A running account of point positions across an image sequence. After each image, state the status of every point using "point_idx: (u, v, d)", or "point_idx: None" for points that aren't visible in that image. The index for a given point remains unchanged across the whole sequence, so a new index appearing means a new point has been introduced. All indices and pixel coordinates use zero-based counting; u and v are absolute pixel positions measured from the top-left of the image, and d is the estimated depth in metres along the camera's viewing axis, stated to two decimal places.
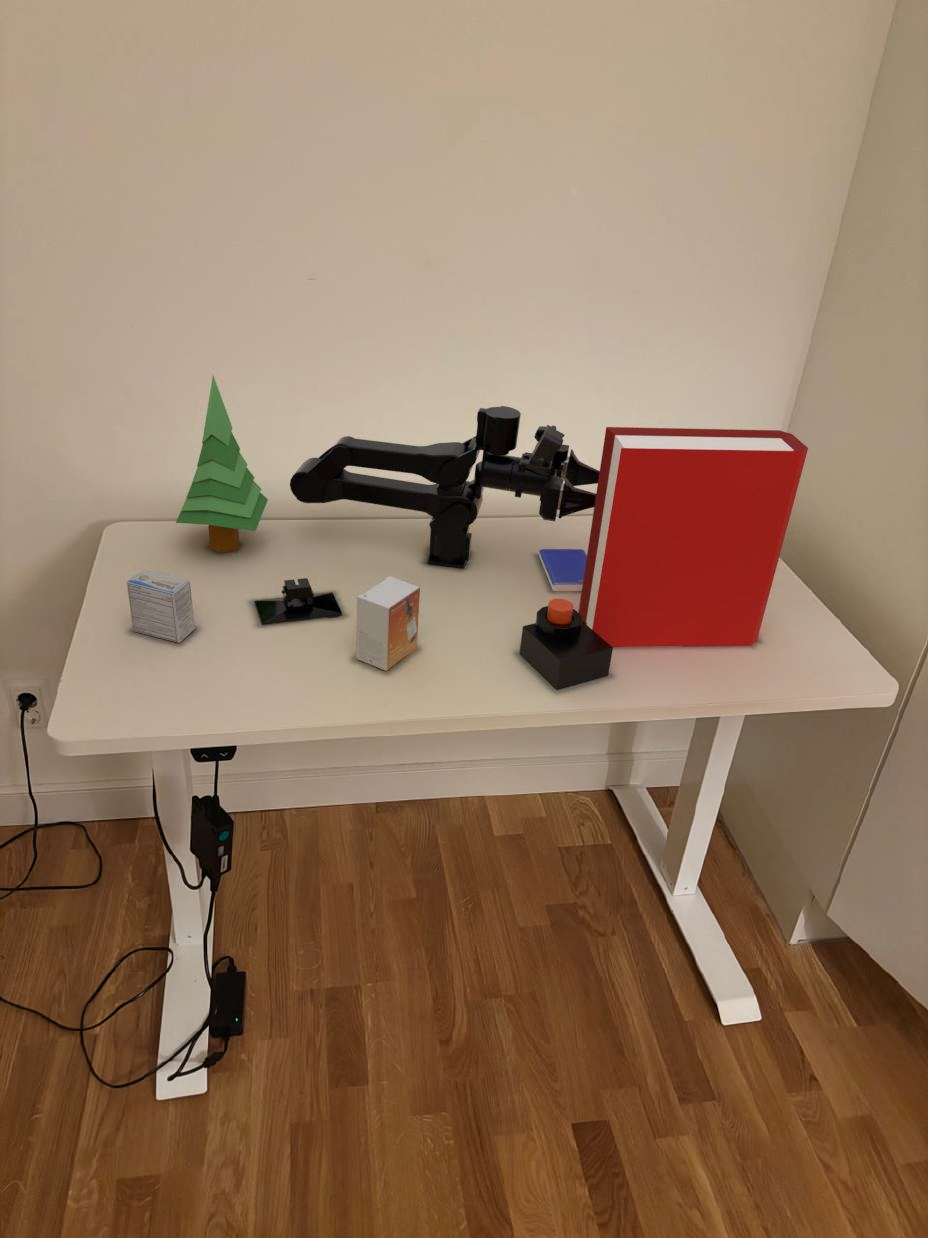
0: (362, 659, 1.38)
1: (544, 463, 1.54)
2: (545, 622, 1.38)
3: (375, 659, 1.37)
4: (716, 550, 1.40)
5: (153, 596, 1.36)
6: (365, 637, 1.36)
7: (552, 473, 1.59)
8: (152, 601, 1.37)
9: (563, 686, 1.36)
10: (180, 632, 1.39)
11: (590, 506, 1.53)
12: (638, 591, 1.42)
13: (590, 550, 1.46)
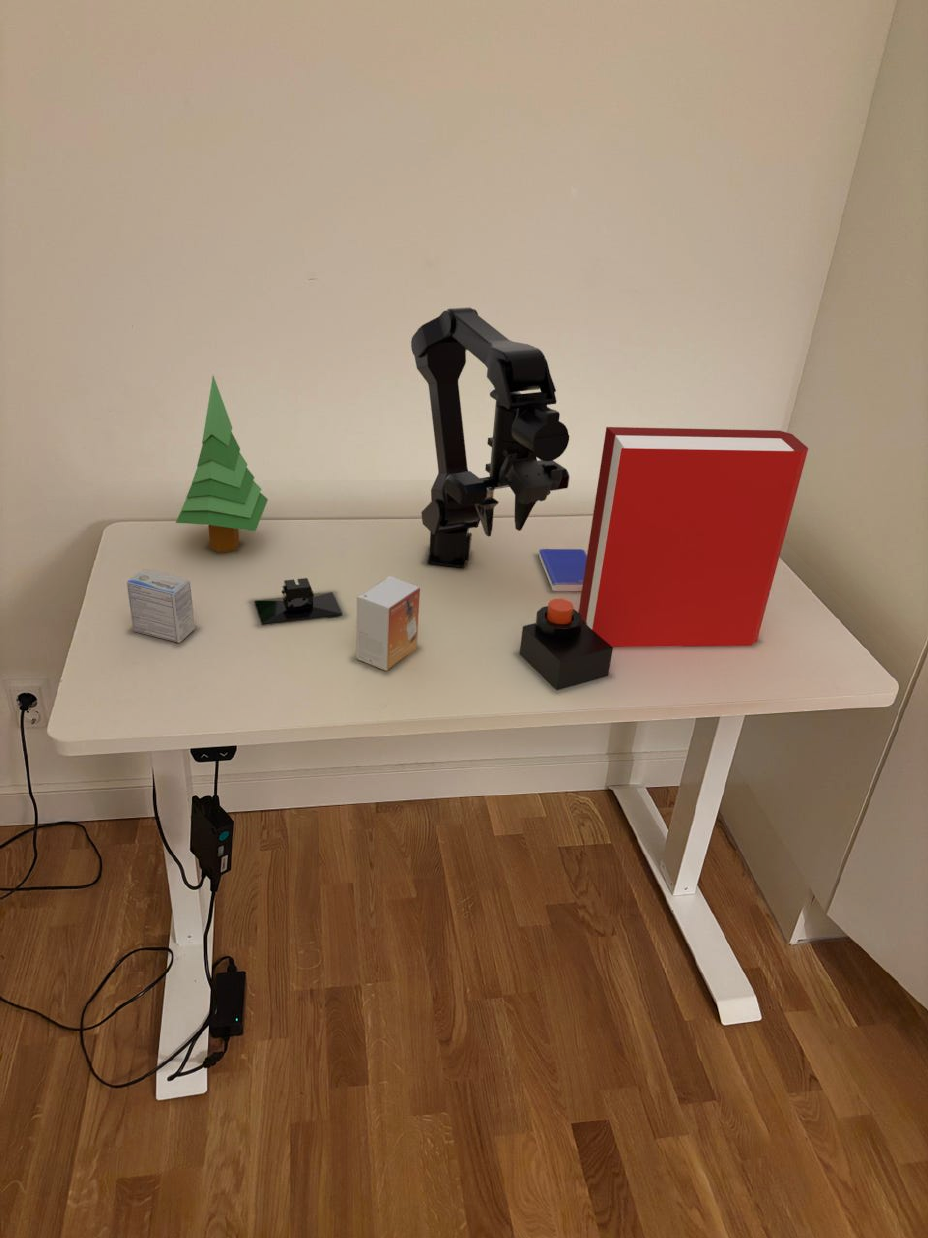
0: (362, 659, 1.38)
1: (507, 479, 1.39)
2: (545, 622, 1.38)
3: (375, 659, 1.37)
4: (716, 550, 1.40)
5: (153, 596, 1.37)
6: (365, 637, 1.36)
7: None
8: (152, 601, 1.37)
9: (563, 686, 1.36)
10: (180, 632, 1.39)
11: (480, 519, 1.46)
12: (638, 591, 1.42)
13: (590, 550, 1.46)
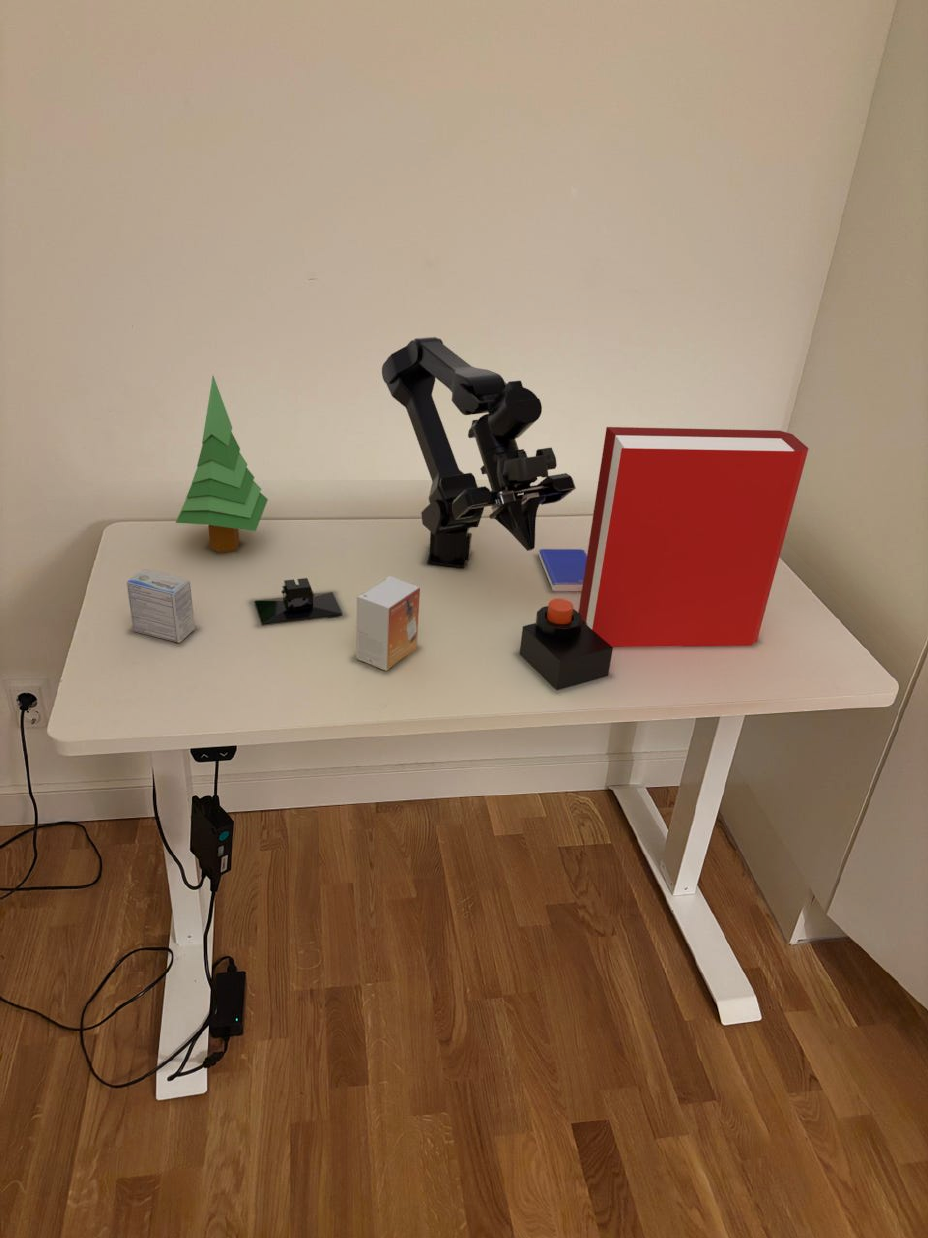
0: (362, 659, 1.38)
1: (505, 475, 1.40)
2: (545, 622, 1.38)
3: (375, 659, 1.37)
4: (716, 550, 1.40)
5: (153, 596, 1.37)
6: (365, 637, 1.36)
7: (525, 488, 1.45)
8: (152, 601, 1.37)
9: (563, 686, 1.36)
10: (180, 632, 1.39)
11: (517, 538, 1.44)
12: (638, 591, 1.42)
13: (590, 550, 1.46)
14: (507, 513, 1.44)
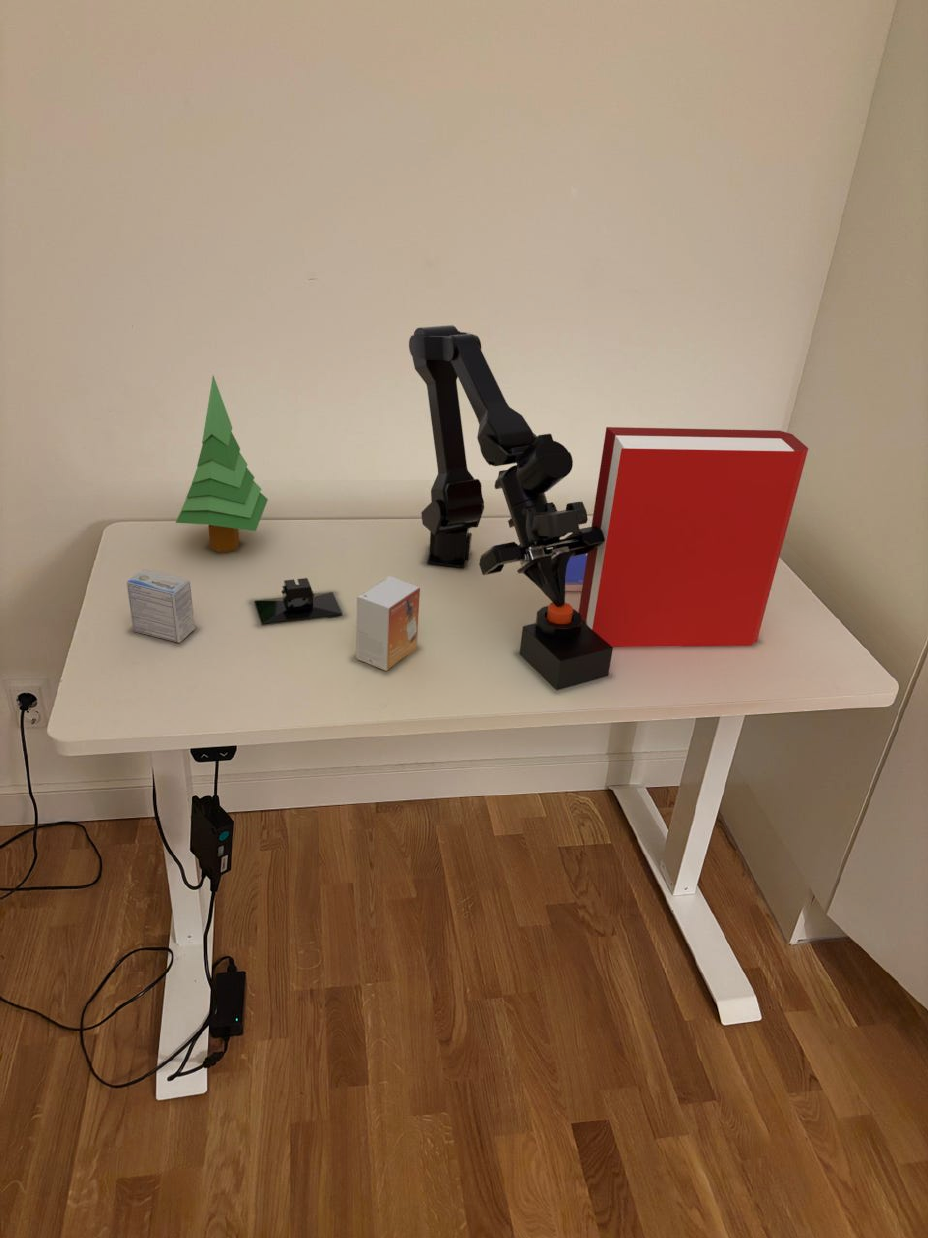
0: (362, 659, 1.38)
1: (535, 531, 1.36)
2: (545, 622, 1.38)
3: (375, 659, 1.37)
4: (716, 550, 1.40)
5: (153, 596, 1.36)
6: (365, 637, 1.36)
7: (554, 542, 1.41)
8: (152, 601, 1.37)
9: (563, 686, 1.36)
10: (180, 632, 1.39)
11: (546, 594, 1.40)
12: (638, 591, 1.42)
13: None
14: (536, 568, 1.40)
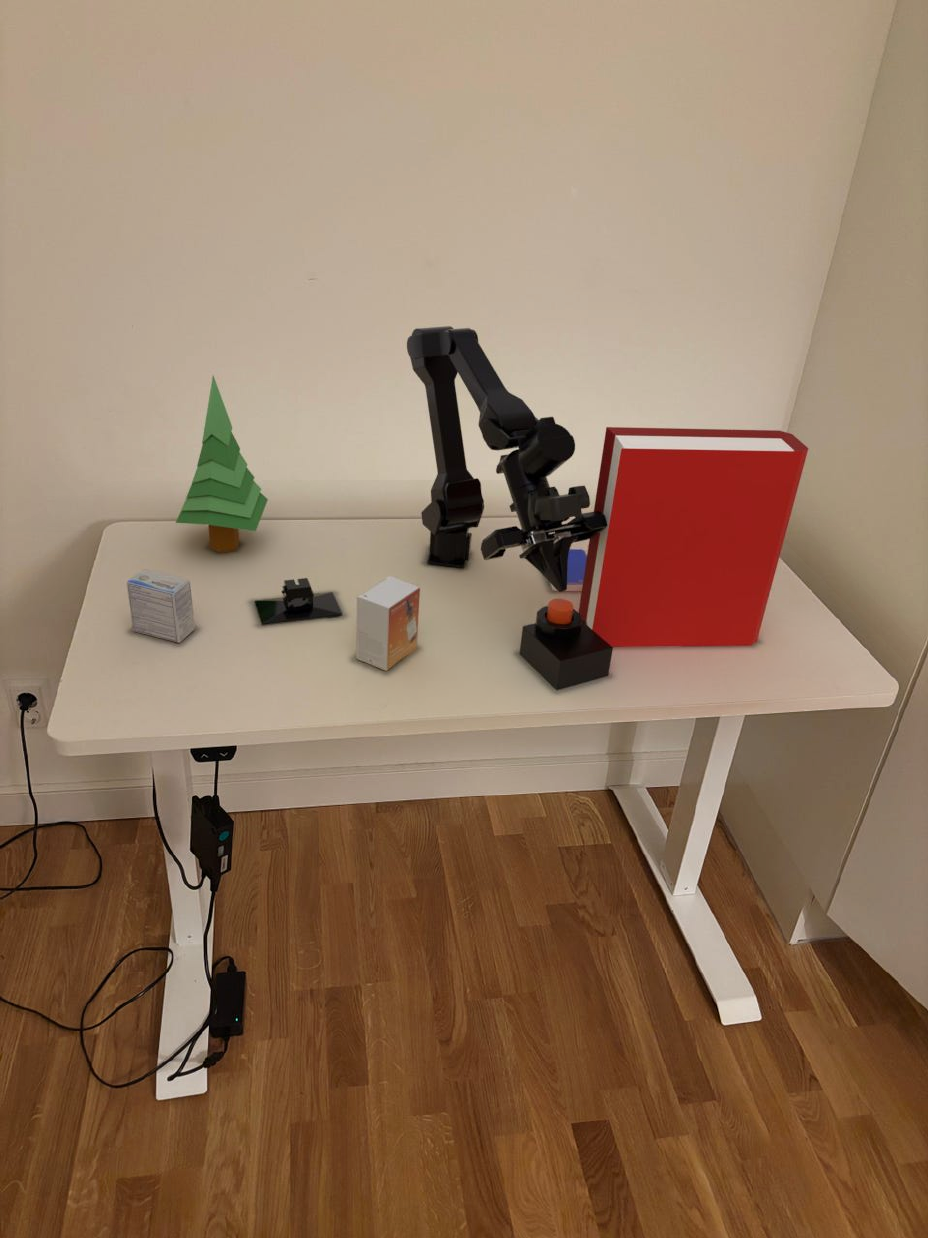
0: (362, 659, 1.38)
1: (537, 515, 1.35)
2: (545, 622, 1.38)
3: (375, 659, 1.37)
4: (716, 550, 1.40)
5: (153, 596, 1.36)
6: (365, 637, 1.36)
7: (556, 527, 1.40)
8: (152, 601, 1.37)
9: (563, 686, 1.36)
10: (180, 632, 1.39)
11: (548, 579, 1.38)
12: (638, 591, 1.42)
13: (590, 550, 1.46)
14: (538, 553, 1.39)
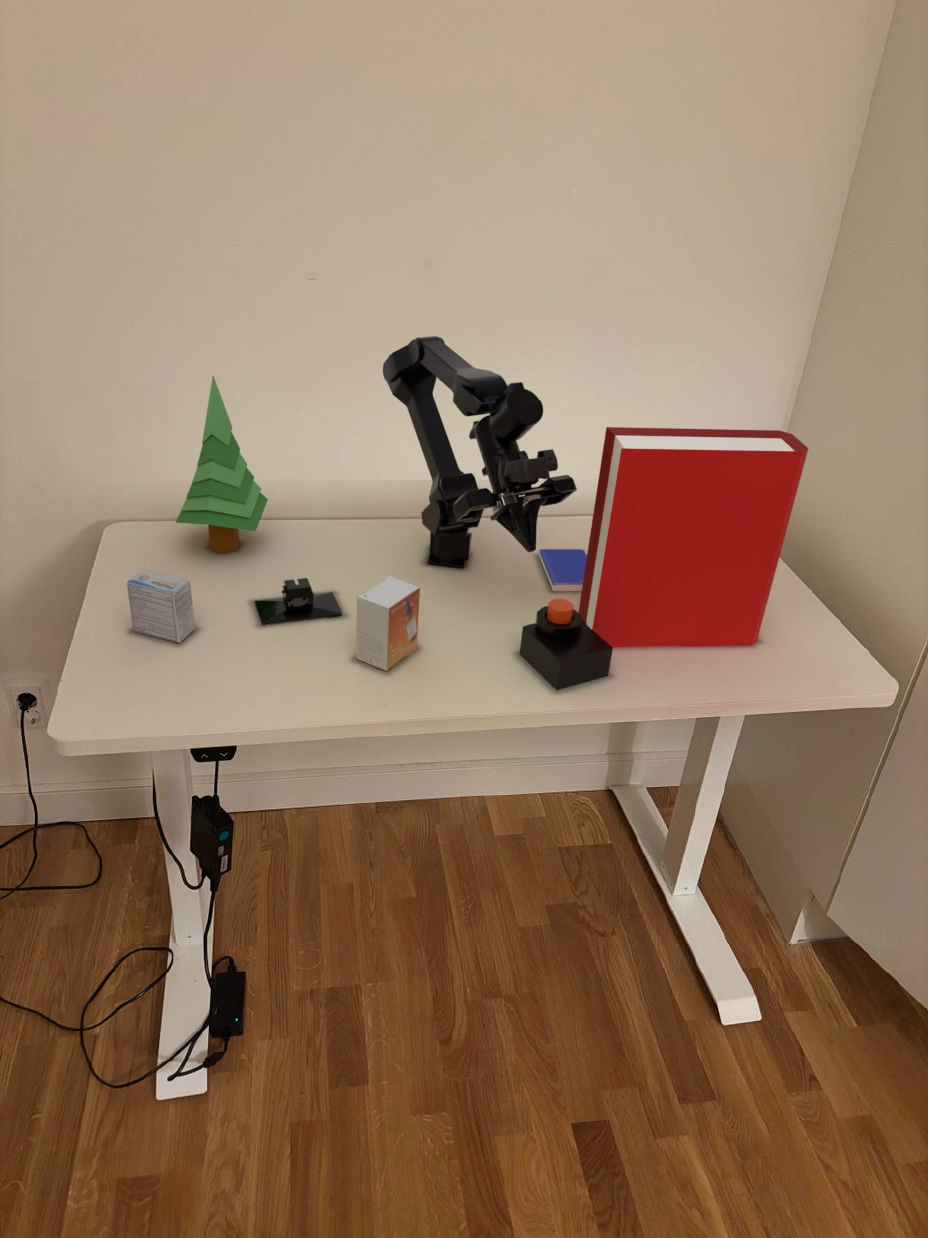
0: (362, 659, 1.38)
1: (507, 477, 1.40)
2: (545, 622, 1.38)
3: (375, 659, 1.37)
4: (716, 550, 1.40)
5: (153, 596, 1.36)
6: (365, 637, 1.36)
7: (526, 490, 1.45)
8: (152, 601, 1.37)
9: (563, 686, 1.36)
10: (180, 632, 1.39)
11: (518, 540, 1.44)
12: (638, 591, 1.42)
13: (590, 550, 1.46)
14: (508, 515, 1.44)
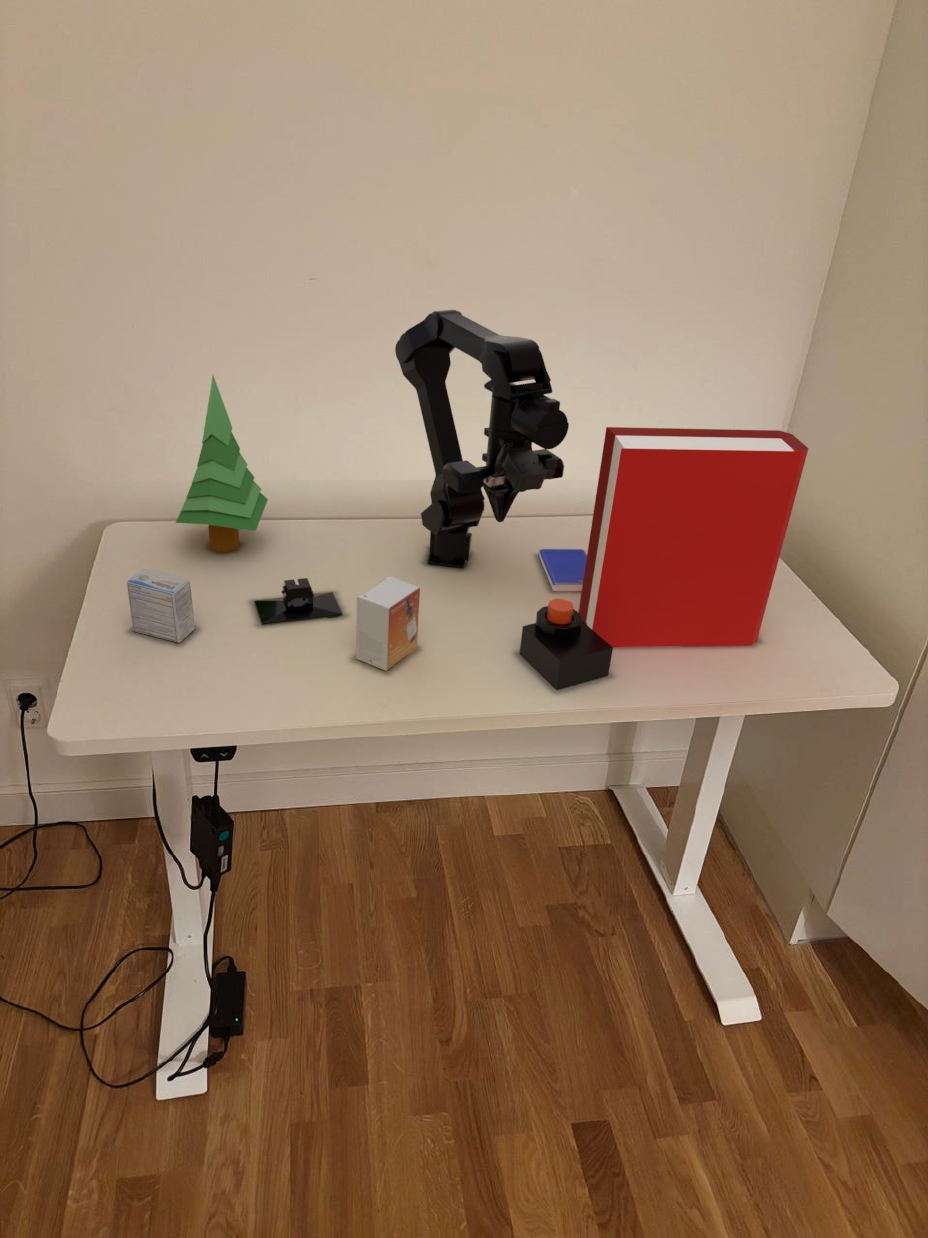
0: (362, 659, 1.38)
1: (503, 468, 1.43)
2: (545, 622, 1.38)
3: (375, 659, 1.37)
4: (716, 550, 1.40)
5: (153, 596, 1.36)
6: (365, 637, 1.36)
7: None
8: (152, 601, 1.37)
9: (563, 686, 1.36)
10: (180, 632, 1.39)
11: (491, 506, 1.51)
12: (638, 591, 1.42)
13: (590, 550, 1.46)
14: None
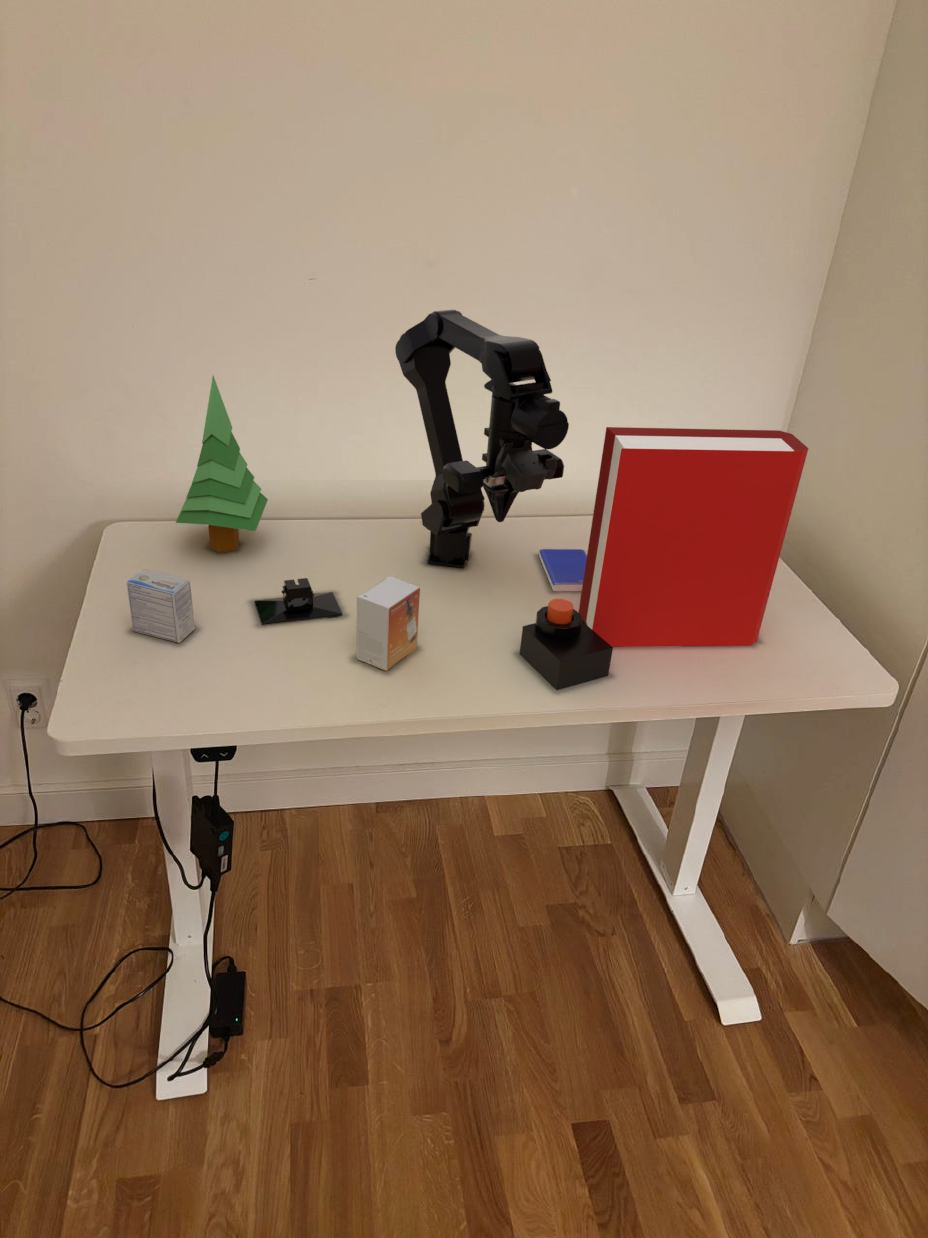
0: (362, 659, 1.38)
1: (503, 468, 1.43)
2: (545, 622, 1.38)
3: (375, 659, 1.37)
4: (716, 550, 1.40)
5: (153, 596, 1.36)
6: (365, 637, 1.36)
7: None
8: (152, 601, 1.37)
9: (563, 686, 1.36)
10: (180, 632, 1.39)
11: (491, 506, 1.51)
12: (638, 591, 1.42)
13: (590, 550, 1.46)
14: None
